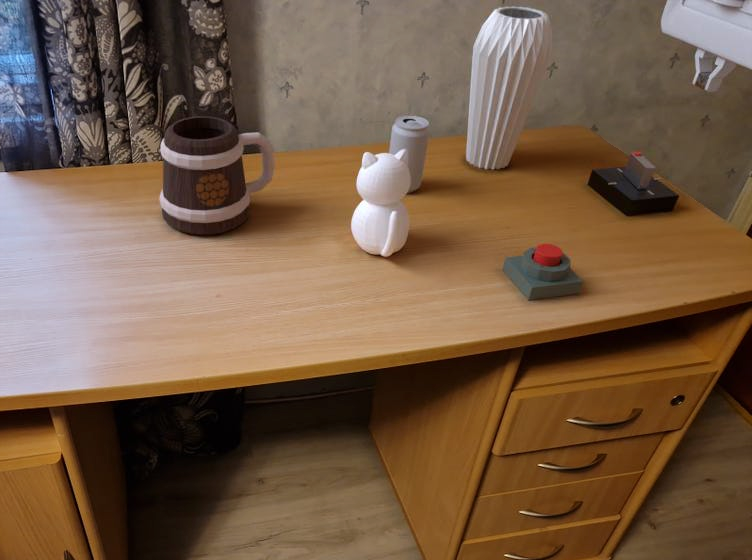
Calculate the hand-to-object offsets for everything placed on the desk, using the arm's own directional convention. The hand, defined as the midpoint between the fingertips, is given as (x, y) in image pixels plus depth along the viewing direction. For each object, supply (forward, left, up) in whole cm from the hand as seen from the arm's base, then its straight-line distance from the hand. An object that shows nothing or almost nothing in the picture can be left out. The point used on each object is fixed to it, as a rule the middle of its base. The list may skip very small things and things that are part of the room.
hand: (704, 88), depth 91 cm
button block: (-5, +20, -25) cm, 32 cm away
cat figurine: (+9, +40, -25) cm, 48 cm away
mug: (+25, +63, -25) cm, 72 cm away
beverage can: (+28, +29, -25) cm, 47 cm away
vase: (+35, +9, -25) cm, 44 cm away
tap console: (+16, -9, -25) cm, 31 cm away
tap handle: (+16, -9, -22) cm, 29 cm away
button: (-5, +20, -21) cm, 30 cm away
